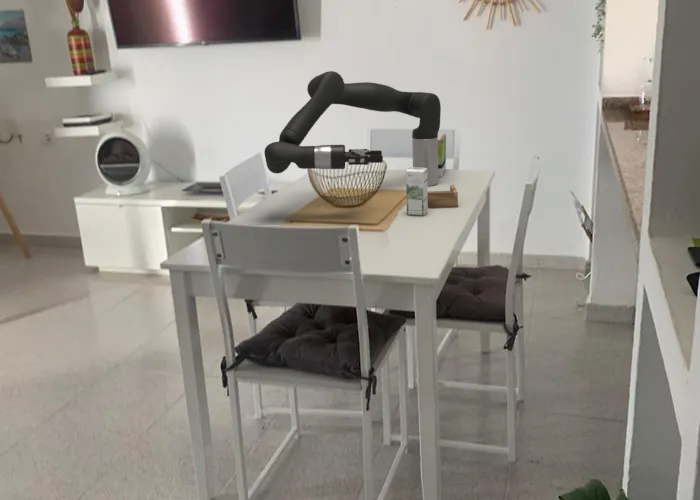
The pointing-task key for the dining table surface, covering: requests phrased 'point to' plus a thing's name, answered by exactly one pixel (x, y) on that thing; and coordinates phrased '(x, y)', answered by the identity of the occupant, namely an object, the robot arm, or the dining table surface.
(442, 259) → the dining table surface
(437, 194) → the walnut tray
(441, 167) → the tea box
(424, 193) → the syrup box
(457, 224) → the dining table surface
